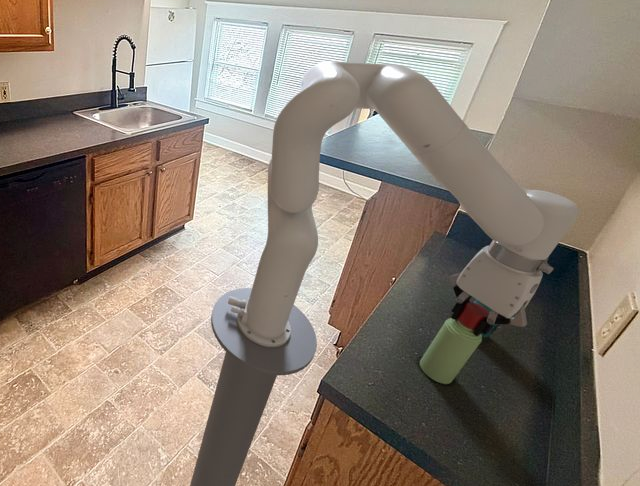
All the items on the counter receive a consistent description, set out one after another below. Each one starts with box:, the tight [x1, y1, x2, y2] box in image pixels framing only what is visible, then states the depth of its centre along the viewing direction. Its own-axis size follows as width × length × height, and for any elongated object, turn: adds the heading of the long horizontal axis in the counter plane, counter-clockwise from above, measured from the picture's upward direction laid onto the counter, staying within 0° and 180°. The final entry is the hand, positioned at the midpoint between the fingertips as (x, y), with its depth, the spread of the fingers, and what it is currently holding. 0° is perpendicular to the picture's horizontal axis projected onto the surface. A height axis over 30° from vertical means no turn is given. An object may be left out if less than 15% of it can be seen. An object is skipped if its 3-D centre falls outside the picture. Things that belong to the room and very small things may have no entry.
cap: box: [458, 301, 489, 330], centre depth 77 cm, size 4×4×4 cm
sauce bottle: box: [419, 317, 483, 385], centre depth 81 cm, size 6×6×18 cm
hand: (467, 324), depth 78 cm, fingers closed on cap, 3 cm apart
